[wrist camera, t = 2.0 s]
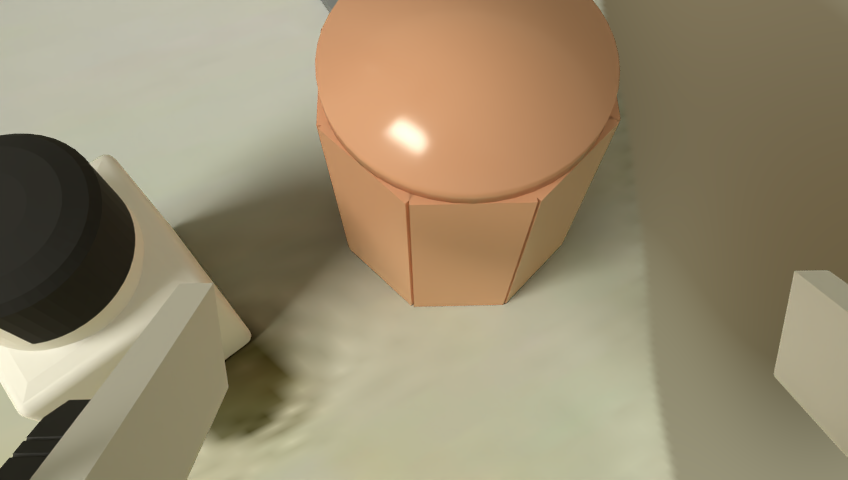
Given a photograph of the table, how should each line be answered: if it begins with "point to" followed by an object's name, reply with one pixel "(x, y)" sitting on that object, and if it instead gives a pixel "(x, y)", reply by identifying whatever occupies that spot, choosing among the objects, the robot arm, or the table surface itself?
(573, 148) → the peach domed post
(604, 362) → the table surface
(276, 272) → the table surface
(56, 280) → the medicine bottle
